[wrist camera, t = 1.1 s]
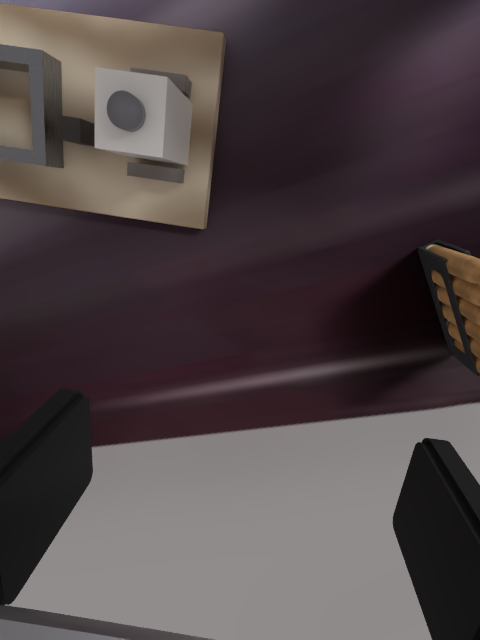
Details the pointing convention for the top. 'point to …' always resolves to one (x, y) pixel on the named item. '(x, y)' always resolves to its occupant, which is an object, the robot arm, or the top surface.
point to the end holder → (38, 105)
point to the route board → (79, 115)
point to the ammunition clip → (455, 298)
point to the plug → (141, 116)
